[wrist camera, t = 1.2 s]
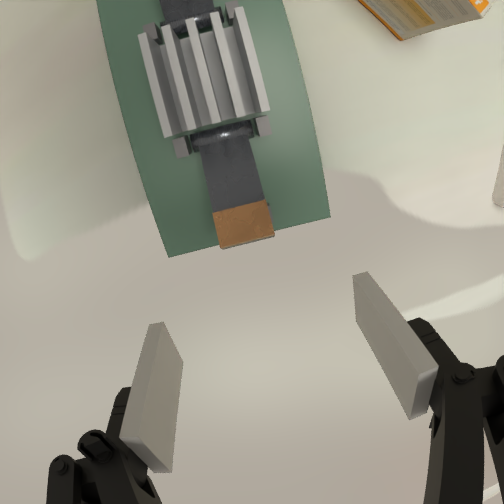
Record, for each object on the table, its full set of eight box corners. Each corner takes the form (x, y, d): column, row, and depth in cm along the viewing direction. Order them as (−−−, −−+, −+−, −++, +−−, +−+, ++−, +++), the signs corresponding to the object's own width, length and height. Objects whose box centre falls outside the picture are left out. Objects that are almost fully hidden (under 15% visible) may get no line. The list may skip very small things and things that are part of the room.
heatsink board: (97, -20, 19) (67, -47, 13) (256, -63, 19) (265, -101, 12) (171, 251, 32) (157, 289, 25) (326, 212, 31) (352, 240, 25)
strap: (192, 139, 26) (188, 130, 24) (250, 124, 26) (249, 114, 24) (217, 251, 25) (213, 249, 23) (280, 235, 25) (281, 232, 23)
